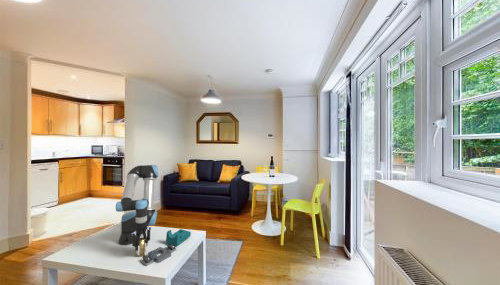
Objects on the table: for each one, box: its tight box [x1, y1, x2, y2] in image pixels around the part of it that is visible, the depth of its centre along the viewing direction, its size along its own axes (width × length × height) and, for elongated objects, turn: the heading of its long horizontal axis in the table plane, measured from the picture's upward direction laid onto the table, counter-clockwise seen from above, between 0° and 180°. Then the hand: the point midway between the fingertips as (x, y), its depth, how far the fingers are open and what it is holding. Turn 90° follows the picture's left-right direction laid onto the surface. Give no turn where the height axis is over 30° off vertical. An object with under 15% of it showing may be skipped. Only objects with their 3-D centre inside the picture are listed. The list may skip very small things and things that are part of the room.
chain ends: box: [140, 244, 177, 267], centre depth 145 cm, size 14×23×4 cm, turn 145°
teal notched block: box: [165, 228, 192, 247], centre depth 167 cm, size 18×11×10 cm, turn 161°
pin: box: [137, 236, 146, 258], centre depth 146 cm, size 5×5×12 cm
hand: (141, 252), depth 146 cm, fingers closed on pin, 4 cm apart
